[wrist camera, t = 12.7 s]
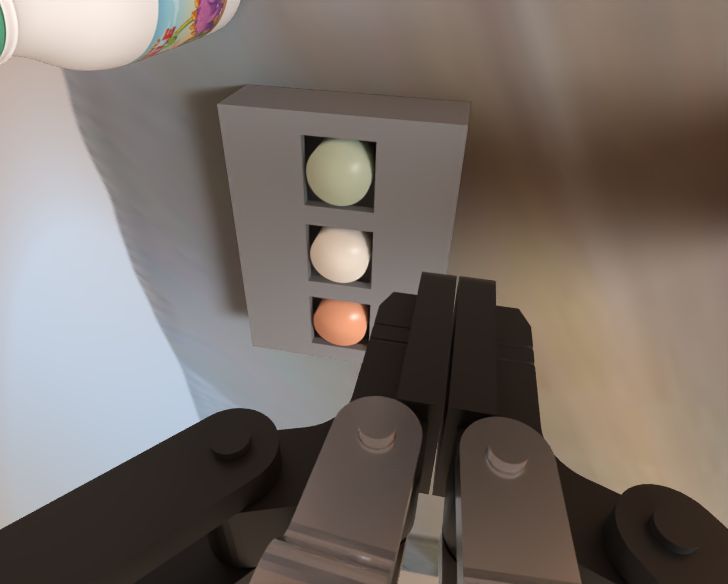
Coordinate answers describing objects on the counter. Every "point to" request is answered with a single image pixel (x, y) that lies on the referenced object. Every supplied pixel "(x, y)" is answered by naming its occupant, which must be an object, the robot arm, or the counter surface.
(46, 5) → the milk bottle
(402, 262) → the button console
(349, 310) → the terracotta button
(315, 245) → the off-white button
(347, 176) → the sage button
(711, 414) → the counter surface
